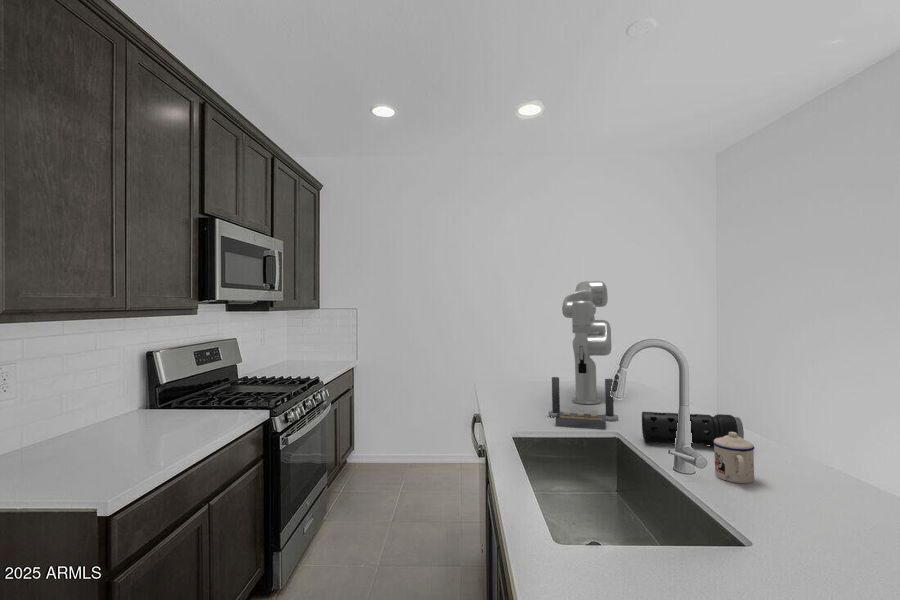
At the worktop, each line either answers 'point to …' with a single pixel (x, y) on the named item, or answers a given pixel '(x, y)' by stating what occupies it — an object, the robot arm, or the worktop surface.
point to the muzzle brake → (702, 427)
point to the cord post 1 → (555, 397)
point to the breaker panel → (581, 420)
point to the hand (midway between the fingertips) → (582, 373)
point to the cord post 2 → (609, 402)
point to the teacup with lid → (734, 459)
